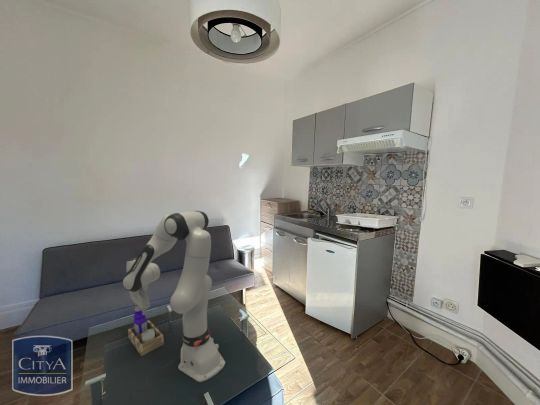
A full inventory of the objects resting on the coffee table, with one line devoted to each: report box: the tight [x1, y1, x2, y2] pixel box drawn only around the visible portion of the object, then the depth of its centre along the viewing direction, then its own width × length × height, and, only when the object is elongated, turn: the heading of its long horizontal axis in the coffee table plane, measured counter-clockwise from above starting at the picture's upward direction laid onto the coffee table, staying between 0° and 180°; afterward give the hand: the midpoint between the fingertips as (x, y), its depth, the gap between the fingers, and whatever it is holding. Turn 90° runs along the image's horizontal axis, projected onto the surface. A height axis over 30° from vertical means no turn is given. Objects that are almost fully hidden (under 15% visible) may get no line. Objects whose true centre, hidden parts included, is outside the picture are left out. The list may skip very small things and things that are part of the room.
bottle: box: [133, 306, 148, 336], centre depth 127 cm, size 7×6×17 cm
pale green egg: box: [142, 329, 155, 344], centre depth 121 cm, size 6×6×7 cm
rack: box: [127, 320, 165, 357], centre depth 124 cm, size 20×11×6 cm, turn 46°
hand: (141, 311), depth 126 cm, fingers open, 8 cm apart
